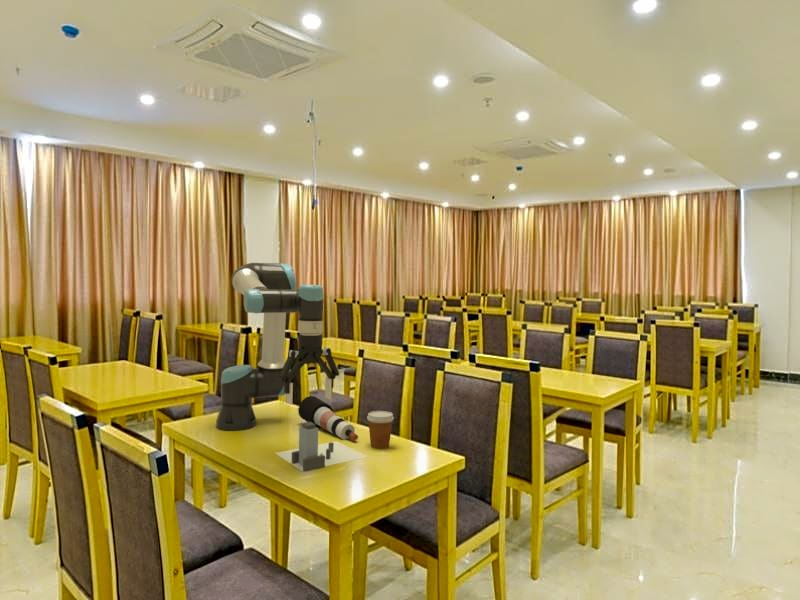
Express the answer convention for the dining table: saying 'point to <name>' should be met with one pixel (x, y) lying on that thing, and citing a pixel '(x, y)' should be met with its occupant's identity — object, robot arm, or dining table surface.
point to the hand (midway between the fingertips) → (309, 401)
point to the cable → (325, 418)
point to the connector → (308, 441)
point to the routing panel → (322, 456)
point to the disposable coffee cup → (380, 428)
